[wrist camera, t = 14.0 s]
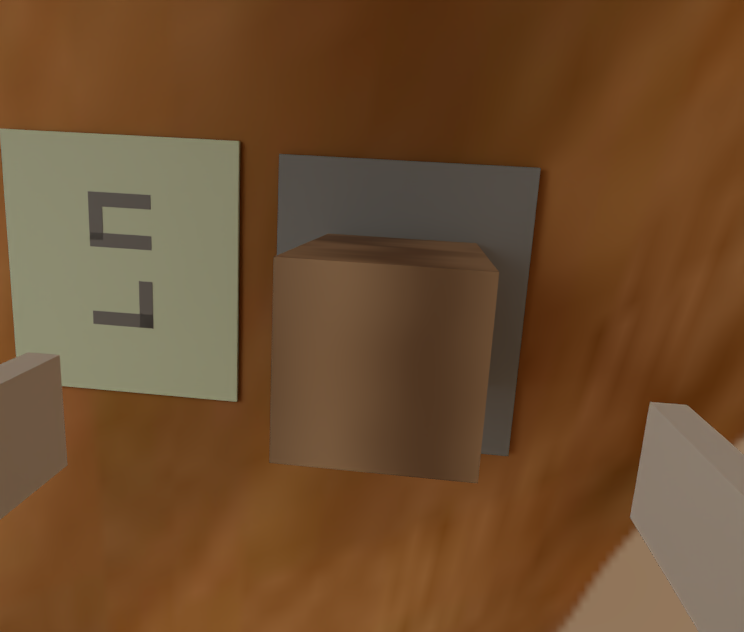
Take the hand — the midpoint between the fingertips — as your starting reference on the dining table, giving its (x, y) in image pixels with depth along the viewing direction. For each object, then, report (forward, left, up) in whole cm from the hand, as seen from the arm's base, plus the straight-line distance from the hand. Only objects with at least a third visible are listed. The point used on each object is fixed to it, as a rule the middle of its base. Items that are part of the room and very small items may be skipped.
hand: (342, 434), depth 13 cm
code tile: (-14, +1, -16) cm, 21 cm away
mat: (0, 0, -16) cm, 16 cm away
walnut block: (0, 0, -16) cm, 16 cm away
